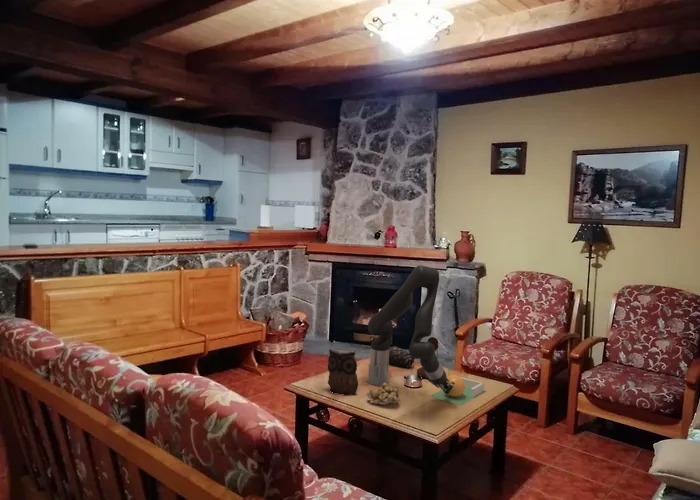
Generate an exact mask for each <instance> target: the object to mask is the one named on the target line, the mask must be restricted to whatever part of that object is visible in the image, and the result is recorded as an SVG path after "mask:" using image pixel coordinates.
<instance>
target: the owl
mask: <svg viewBox="0 0 700 500" xmlns="http://www.w3.org/2000/svg"><path fill="white" fill-rule="evenodd" d="M328 352H329V357H328V360H327V361H328V364H327V369H328V373H329V374H328V379H327V385H329V388H330V389H329V390H330V391H331V392H330V391H329V392H330V393H332V392H333V393H332V394H334V393H338V395H339V394H344V395H343V396H356V395H357V391H358V386H359V380H358V375H357V371H358V363H357V360H356V356H355V355H356V352H354V351H349V350H348V351H347V350H342V349H341V350H340V349H339V350H338V349H337V350H336V349H332V348H329V350H328Z"/></svg>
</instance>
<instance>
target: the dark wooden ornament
mask: <svg viewBox="0 0 700 500" xmlns="http://www.w3.org/2000/svg"><path fill="white" fill-rule="evenodd" d="M426 342H430V343H432V344H433V345H434V348H435V352H436V358H437V359H438V358H439V351H438V349H439V341H438V339H437V338H436V337H434V336H430V337H429V338H428V339H427V341H426ZM416 374H417V375H418V376H420V378H421V377H422V379H423V378H426V379H429V378H428V376H427V374H426V373H425V370H424V369H423V367H422V366H421V367H419V368H417V369H416Z"/></svg>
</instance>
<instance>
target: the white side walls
mask: <svg viewBox="0 0 700 500" xmlns="http://www.w3.org/2000/svg"><path fill="white" fill-rule="evenodd" d="M460 377H461V378H462V379H463V381H464V383H465V387H467V388H470V389H471V395H470V397H472V398H473V397H475V396H477V395H478V394H480V393H482V392H484V391H485V383H484V382H481V381H477V380H473V379H470V378H466V377H463V376H460ZM477 397H478V396H477Z"/></svg>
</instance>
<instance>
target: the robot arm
mask: <svg viewBox="0 0 700 500" xmlns="http://www.w3.org/2000/svg"><path fill="white" fill-rule="evenodd" d="M439 283H440V273H439V270H438V269H436V268H434V267H430V266H425V265H417V266H415V267H414V268H413V270H412V271H411V272H410V274H409V275H408V277H407V278H406V280H405V281H404V283H403V284H402V285H401V286H400V288H399V289H398V290H397V291H396V292H395V293H394V294H393V295H392V296H391V297H390V299H389V300H388V301H387V302H386V303H385V304H384V305H383V307H382V308H380V310H379V311H378V312H376V313H375V314H374V315H373V316H372V317H370V319H369V321H368V323H367V329H368V330H367V331H368V332H369V333H370V334H371V335H372V336H377V338H375V339H374V340H373V341H371V344H370V356H369V358H370V359H369V364H368V376H367V377H368V378H367V379H368V381H367V383H368V384H370V385H372V386H376V387H379V386H382V384H383V383H387V384H388V383H389V370H390V369H389V366H390V365H389V350H390V347H391V344H392V339H393V338H392V337H393V328H394V327H393V325H394V324H393V320H395V319H398V318H399V317H401V316H403V314H405V313H406V312H407V311H408V310H409V309H410V308H411V306H412V305H413V301H414V296H413V295H414V293H413V292H414V290H415V289H417V288H418V287H420V288H424V289H426V296H425V299H424V300H423V302H422V303H421V305H420V307H419V308H418V310H417V312H416V315H415V321H414V322H415V323H414V331H413V334H412V338H411V341H410V344H409V348H408V353H410V356H411V357H412V358H414V360H419V362H420V366H421V367H423V369H424V370H425V373H426V374H427V376H428V378H427V379H428V382H429V383H430V384H432V385H433V386H435V387H436V388H437V389H440V390H443V391H444V393H445V394H449V392H450V390H451V389H452V388H453V386H454V384H455V383H454V382H452V383H450V382H449V380H448V379H447V377H448V376H447V373H446V371H445V369H444V367H443V366H442V364H441V362H439V359H438V358H436V357H437V354H436V351H435V348H434V345H433V344H432V343H430V342H427V341H422V340H423V339H424V338H427V337H431V335H432V330H433V316H434V315H433V314H434V313H433V312H434V307H435V303H436V299H437V294H438V290H439ZM388 385H389V384H388ZM448 385H449V386H448Z"/></svg>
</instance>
